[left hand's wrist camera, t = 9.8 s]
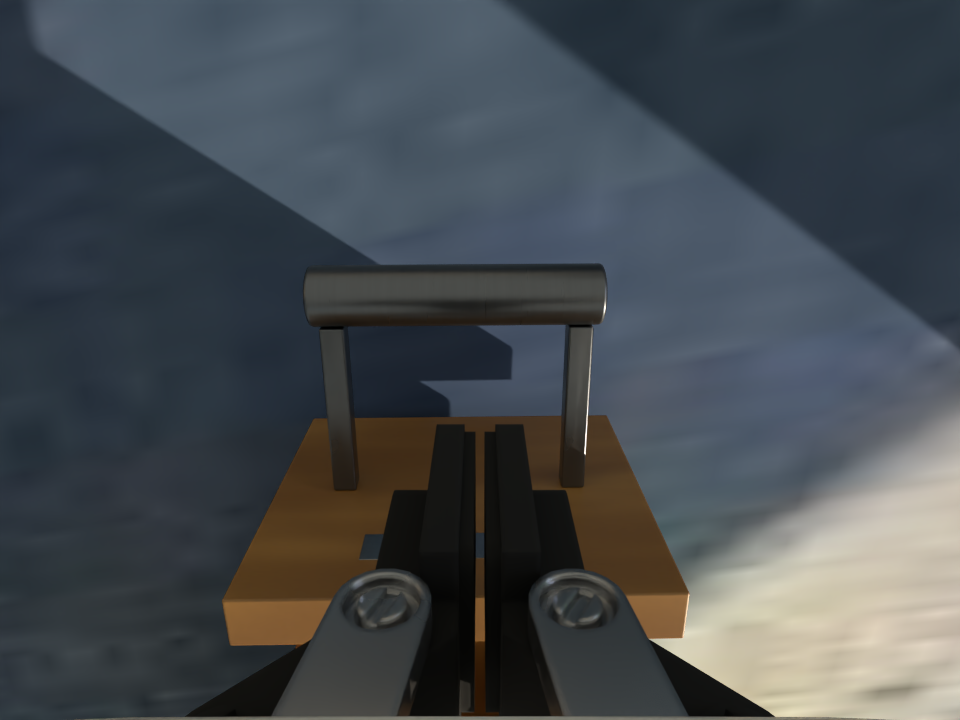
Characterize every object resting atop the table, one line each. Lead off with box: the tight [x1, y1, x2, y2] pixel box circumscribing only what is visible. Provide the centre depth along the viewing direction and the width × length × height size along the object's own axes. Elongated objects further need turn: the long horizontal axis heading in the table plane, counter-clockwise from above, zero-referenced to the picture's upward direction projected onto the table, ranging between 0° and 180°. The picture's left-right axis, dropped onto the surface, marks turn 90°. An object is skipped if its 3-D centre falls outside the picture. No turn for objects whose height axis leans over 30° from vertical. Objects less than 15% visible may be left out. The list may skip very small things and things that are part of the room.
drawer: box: [222, 263, 689, 716], centre depth 19 cm, size 22×10×8 cm, turn 0°
